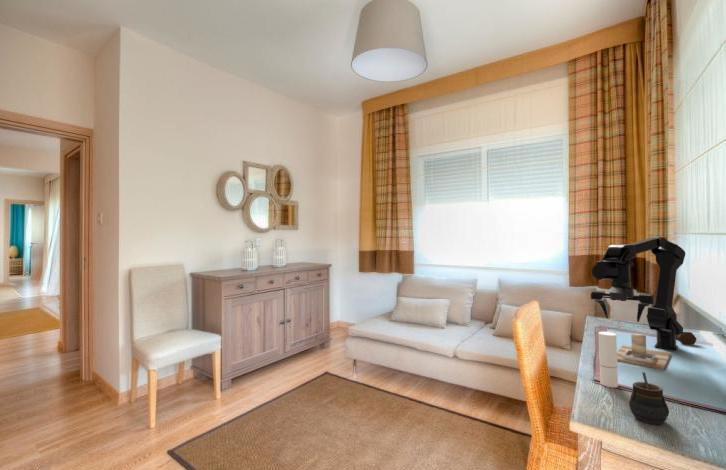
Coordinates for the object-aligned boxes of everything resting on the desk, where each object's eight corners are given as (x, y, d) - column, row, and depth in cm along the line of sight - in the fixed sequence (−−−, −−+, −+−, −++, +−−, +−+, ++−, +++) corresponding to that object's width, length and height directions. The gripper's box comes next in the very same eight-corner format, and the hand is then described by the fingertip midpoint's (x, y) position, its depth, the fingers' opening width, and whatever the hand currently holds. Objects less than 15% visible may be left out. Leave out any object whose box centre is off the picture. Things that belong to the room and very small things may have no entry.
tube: (618, 388, 99) (616, 336, 100) (600, 385, 102) (598, 334, 102) (617, 383, 103) (615, 332, 103) (599, 380, 105) (598, 330, 105)
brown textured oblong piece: (673, 339, 151) (690, 348, 137) (661, 333, 152) (676, 341, 139) (681, 328, 150) (699, 336, 136) (668, 321, 151) (684, 329, 138)
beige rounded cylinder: (633, 355, 124) (632, 333, 124) (647, 358, 121) (646, 335, 121) (631, 358, 121) (630, 335, 121) (645, 360, 118) (644, 337, 118)
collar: (627, 352, 127) (627, 349, 127) (656, 357, 121) (656, 354, 121) (622, 358, 121) (622, 355, 121) (652, 364, 115) (652, 360, 115)
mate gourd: (636, 425, 80) (634, 381, 80) (624, 410, 87) (622, 370, 87) (675, 430, 78) (673, 384, 78) (659, 414, 85) (657, 373, 85)
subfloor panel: (623, 346, 136) (623, 344, 136) (670, 354, 126) (670, 352, 126) (611, 359, 122) (611, 357, 122) (663, 369, 112) (663, 367, 112)
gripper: (586, 279, 130) (588, 320, 130) (650, 282, 117) (652, 328, 117) (593, 276, 138) (594, 315, 138) (653, 278, 125) (655, 322, 125)
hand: (622, 320), depth 129 cm, fingers open, 9 cm apart
